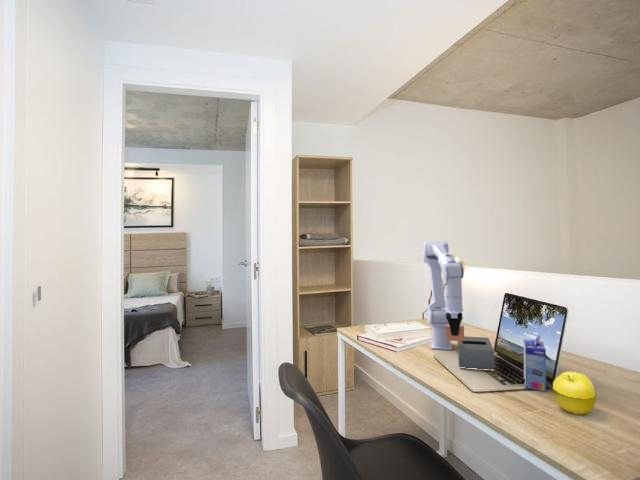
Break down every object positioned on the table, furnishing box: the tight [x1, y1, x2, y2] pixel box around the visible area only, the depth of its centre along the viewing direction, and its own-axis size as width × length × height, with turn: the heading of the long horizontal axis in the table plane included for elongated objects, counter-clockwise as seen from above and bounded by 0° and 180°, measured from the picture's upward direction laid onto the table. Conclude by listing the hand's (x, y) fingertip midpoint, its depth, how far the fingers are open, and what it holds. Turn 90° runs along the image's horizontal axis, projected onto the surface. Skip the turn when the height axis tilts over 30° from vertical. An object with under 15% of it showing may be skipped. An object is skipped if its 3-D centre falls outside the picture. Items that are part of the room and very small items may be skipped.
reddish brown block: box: [446, 324, 465, 342], centre depth 125 cm, size 2×6×5 cm, turn 70°
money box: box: [456, 335, 496, 370], centre depth 125 cm, size 16×11×7 cm
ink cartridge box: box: [523, 335, 547, 392], centre depth 105 cm, size 10×6×14 cm, turn 152°
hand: (454, 334), depth 125 cm, fingers closed on reddish brown block, 2 cm apart
